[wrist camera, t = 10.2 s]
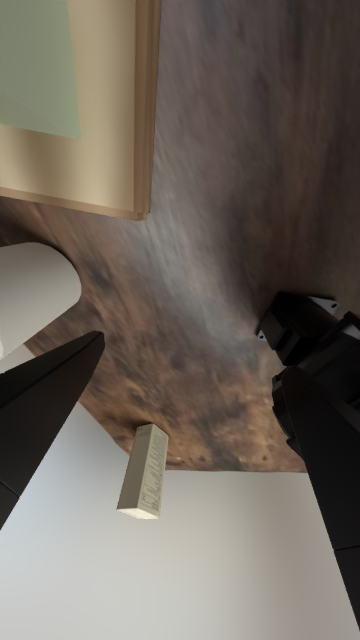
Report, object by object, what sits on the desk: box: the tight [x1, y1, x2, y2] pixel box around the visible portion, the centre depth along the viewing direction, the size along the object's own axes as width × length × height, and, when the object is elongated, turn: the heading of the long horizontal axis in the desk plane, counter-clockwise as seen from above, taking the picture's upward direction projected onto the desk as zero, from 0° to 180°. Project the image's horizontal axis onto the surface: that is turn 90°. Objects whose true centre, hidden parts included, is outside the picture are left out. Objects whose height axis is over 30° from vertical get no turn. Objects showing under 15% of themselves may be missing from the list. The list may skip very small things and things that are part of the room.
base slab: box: [0, 0, 161, 221], centre depth 11 cm, size 13×13×3 cm
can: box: [0, 242, 81, 360], centre depth 15 cm, size 8×8×12 cm
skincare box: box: [116, 423, 168, 519], centre depth 32 cm, size 6×4×12 cm
